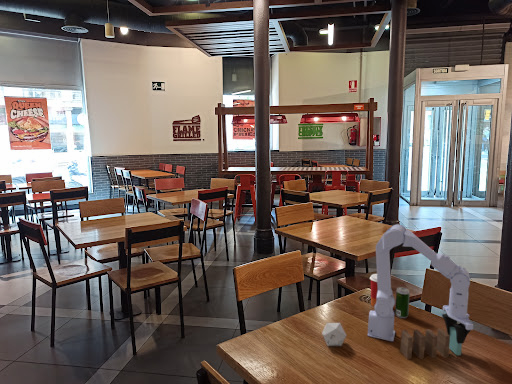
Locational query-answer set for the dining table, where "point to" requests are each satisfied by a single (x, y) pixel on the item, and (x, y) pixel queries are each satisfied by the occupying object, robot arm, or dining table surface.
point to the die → (334, 334)
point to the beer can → (402, 302)
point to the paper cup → (374, 289)
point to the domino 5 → (454, 342)
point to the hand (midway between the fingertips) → (455, 338)
